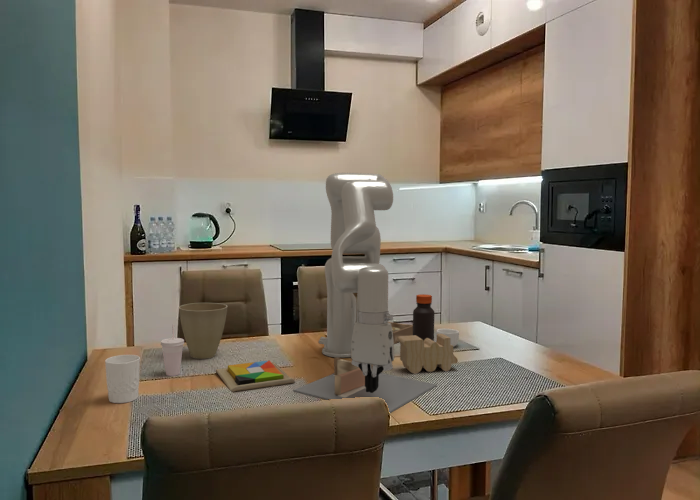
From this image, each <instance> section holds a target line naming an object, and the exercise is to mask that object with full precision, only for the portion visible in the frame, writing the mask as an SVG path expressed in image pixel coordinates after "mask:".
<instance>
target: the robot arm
mask: <svg viewBox="0 0 700 500" xmlns="http://www.w3.org/2000/svg"><path fill="white" fill-rule="evenodd" d="M325 192H326V197H327V200H328V202H329V205H330V210H331V211H330V212H331V219H330V220H331V222H330V248H331V250H332V251H331V257H330V258H328V259H327V260H326V262H325V264H324V277H325V282H326V284H325V285H326V294H327V295H326V297H327V298H326V301H327V302H326V303H327V304H326V309H327V311H326V312H327V313H326V316H327V317H326V325H327V326H326V337H325V336H320V337H319V340H318V344H320V345H324V346H323V348H322V349H321V353H322V355H324V356H326V357H330V358H331V357H332V358H336V357H339V358H340V359H342V358H350V359H351V361H352V365H354V366H357V367H359V368H360V369H361V371H362V372H363V375H364V376H365V387H366V392H370V393H373V392H374V391H376V390H377V388H378V380H379V374H380V373H382V372H388V371H391V370H392V369H393V368H394V366H393V361H394V360H395V344H394V339H393V332H392V326H391V323H388V322H390V321H393V319H394V316H393V314H390V312H389V271H388V270H387V269H386V267H385V266H384V265H383V264H381V263H380V260H381V259H380V258H381V245H382V244H381V240H382V239H381V233H380V230H379V228H378V227H377V224H376V223H377V222H376V217H375V216H376V215H375V211H388V210H390V209H391V208H392V206H393V203H394V193H393V188H392V186H391V183H390V182H389V180H387V179H386V178H385V176H384V175H382V174H380V173H362V172H360V173H359V172H334V173H332V174H330V175H328V176H327V178H326V180H325ZM344 254H347V256H345V255H344ZM350 254H351V255H353V254H354V255H356V254H357V255H358V254H359V255H361V254H362V255H365V256H351V255H350ZM343 255H344V256H343ZM349 255H350V256H349ZM355 293H357V294H356V295H357V296H355ZM356 297H357V298H356ZM371 364H372V365H373V369H372V367H371Z"/></svg>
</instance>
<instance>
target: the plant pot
mask: <svg viewBox="0 0 700 500" xmlns="http://www.w3.org/2000/svg"><path fill="white" fill-rule="evenodd" d="M178 312H179V318H180V324H181V329H182V332H183V336H184V341H185V343H186V346H187V347H186V348H187V349H188V351H189V354H190V357H191V358H193V359H197V360H204V359H205V360H206V359H211V358H215V356H216V354H217V351H218V350H219V349H218V348H219V346H220V342H221V341H222V340H221V339H222V336H223V333H224V329H225V324H226V319H227V313H228V305H227V304H224V303H218V302H194V303H187V304H186V303H185V304H182V305H179V307H178Z"/></svg>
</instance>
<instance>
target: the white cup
mask: <svg viewBox="0 0 700 500" xmlns="http://www.w3.org/2000/svg"><path fill="white" fill-rule="evenodd" d="M104 363H105V365H104V366H105V378H106V387H107V397H108V401H109V402H110V403H113V404H126V403H130V402H133V401H136V400H137V399H138V398H139V386H140V376H141V375H140V373H141V371H140V369H141V368H140V367H141V365H140V363H141V357H140V356H139V355H137V354H118V355H114V356H110V357H107V358H106V359H105V360H104Z"/></svg>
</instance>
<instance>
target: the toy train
mask: <svg viewBox="0 0 700 500" xmlns="http://www.w3.org/2000/svg"><path fill="white" fill-rule="evenodd" d="M397 340H398V343H399V344H400V347H399V352H400V353H399V359H400V361H401V363H402V366H403V367H404V368H405V369H407V371H408V372H410V373H412V374H415V375H416V374H419V373H420V372H421V371H422V369H424V370H425V371H426V372H429V373H431V372H434V371H436V370H437V367H438V368H439V369H441V370H442V371H445V372H448V371H450V370H451V368H452V365H453V364H454V365H455V364H457V363H458V362H459V361H458V358H457V357H456V356H455V354H454V347H453V345H451V344H450V337H448V336H446V335H444V334H437V337H436V341H435V340H434V341H433V340H431V339H429V338H426V339H425V340H422V339H421V338H419V337H418V336H416V335H412V336H399V337H397Z"/></svg>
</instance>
